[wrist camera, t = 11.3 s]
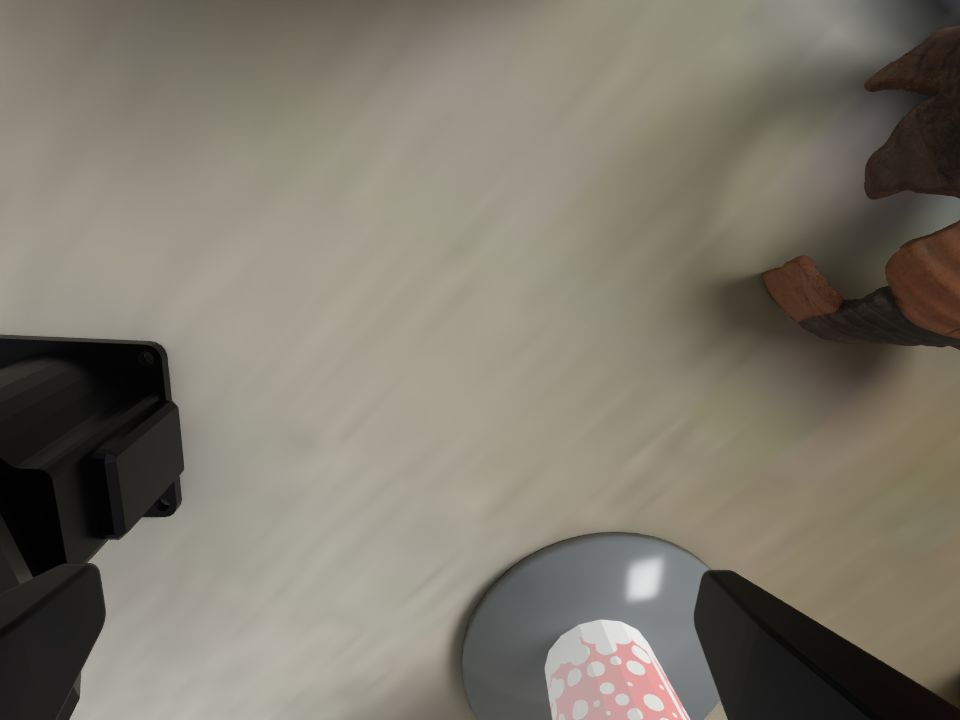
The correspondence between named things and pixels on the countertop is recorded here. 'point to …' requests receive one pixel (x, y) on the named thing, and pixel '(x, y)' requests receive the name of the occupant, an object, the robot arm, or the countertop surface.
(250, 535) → the countertop surface
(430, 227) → the countertop surface
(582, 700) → the beverage cup
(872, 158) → the pottery mug
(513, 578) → the coaster
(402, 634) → the countertop surface
